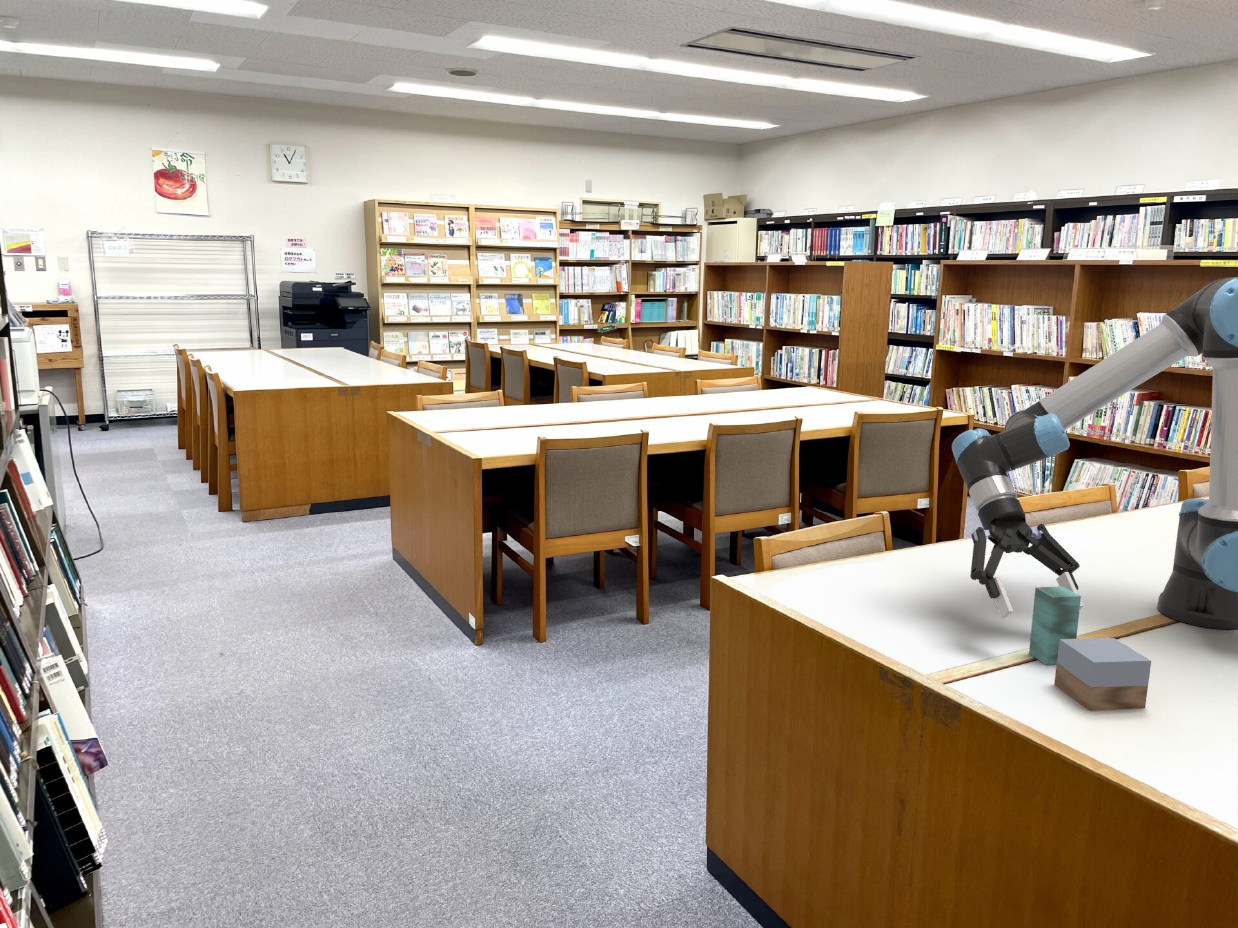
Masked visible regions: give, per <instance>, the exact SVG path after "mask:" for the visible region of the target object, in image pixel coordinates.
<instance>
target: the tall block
mask: <svg viewBox="0 0 1238 928" xmlns="http://www.w3.org/2000/svg"><path fill="white" fill-rule="evenodd" d="M1078 594H1079V593H1078ZM1078 594H1076V593H1074V592H1072V591H1070V590H1068V589H1067V588H1065V587H1063V586H1061V587H1060V586H1042V587H1041V586H1040V587H1035V588H1034V596H1033V597H1034V599H1033V609H1032V618H1031V619H1032V620H1031V631H1030V638H1029V639H1030V640H1029V649H1028V654H1029V655H1031V656H1032V657H1033V658H1035V659H1037V660H1038V661H1040V662H1041V663H1042V664H1043V665H1046V666H1053V665H1055V666H1056V664H1057V659H1058V649H1059V640H1060V639H1078V638H1077V637H1078V636H1077V635H1078V627H1079V618H1080V609H1081V608H1080V601H1082V599H1081V598H1082V596H1081V595H1080V594H1079V595H1078Z"/></svg>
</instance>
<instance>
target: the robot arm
mask: <svg viewBox="0 0 1238 928" xmlns="http://www.w3.org/2000/svg"><path fill="white" fill-rule="evenodd" d="M1160 321H1161V322H1160V323H1159V324H1158V325H1156V326H1155V327H1153V328H1152V329H1150V330H1148V331H1147V332H1145V333H1144V334H1142V335H1141V336H1139V337H1137V338H1136V339H1134V340H1133V341H1131V342H1130V343H1128V344H1126V345H1125V346H1123V347H1122V348H1120V349H1119V350H1117V351H1115V352H1113V353H1112V354H1110V355H1109V356H1107V357H1106V358H1103V360H1101V361H1100V362H1098V363H1096V364H1094V365H1092V367H1089V368H1088V369H1086V370H1085V371H1083V372H1082V373H1080V374H1079V375H1077V376H1076V377H1074V378H1073V379H1071V380H1069V381H1068V382H1066V383H1065V384H1063V385H1062V386H1060V387H1059V388H1057V389H1055V390H1053V391H1052V392H1051V393H1049V394H1047V395H1045V396H1044V397H1043V398H1041V399H1040V400H1038V401H1037V402H1035V403H1033V404H1031V405H1030V406H1028V407H1027V408H1025V409H1022V410H1019V411H1015V412H1014V413H1012V414H1011V415H1010V416H1009V417H1008V418H1007V420H1006V422H1005V424H1004V431H1001V432H998V433H996V434H992V435H991V433H989V431H988V430H986V429H983V428H975V429H969V430H966V431H963V432H962V433H960V434H959V435H958V436H957V437H955V438H954V440H953V442H952V443H951V451H952V453H953V457H954V459H955V463H956V467H958V470H959V473H960V475H961V477H962V479H963V482H964V484H965V487H966V489H967V490H968V494H969V496H970V498H971V499H970V500H971V501H972V503H973V506H974V509H975V510H976V511H977V516H978V518H979V521H980V523H981V525H982V526H979V527H977V528H976V529H974V531H973V532H972V533H971V539H972V543H973V549H972V556H971V559H972V560H971V566H970V579H971V580H972V581H976V580H978V583H979V584H980V585H983V586H984V587H985V589H986V591H987V594H988V596H989V598H990V599H993V600H994V602H995V604H996V607H997V610H998V612H999V615H1000V617H1001V618H1002V619H1005V618H1007V617H1008V616H1009V615H1011V614H1012V613H1014V609H1013V606H1012V604H1011V601H1010V598H1009V597H1008V593H1007V591H1006V589H1005V587H1004V584H1003V582H1002V579H1001V577H1000V576H995V574H996V572H997V569H998V567H999V564H1000V562H1001V560H1002V558H1003V555H1004V553H1005V554H1011V553H1016V554H1017V553H1020V554H1021V553H1022V552H1023V553H1024V554H1025V555H1028V556H1031V557H1032V558H1034V559H1036V561H1038V562H1040V564H1042V565H1044V566H1045V567H1046V568H1047V569H1049V570H1050V571H1051V572H1053V573H1054V574H1055V575H1056V576H1058V577H1056V581H1057V584H1058V587H1061V586H1063V587H1065V588H1067V589H1068V590H1070V591H1072V592H1074V593H1076V594H1078V595H1080V594H1079V592H1078V590H1079V586H1078V583H1077V582H1076V579H1075V577H1074V575H1073V573H1074V572H1075V571H1076V570H1078V569H1079V568H1080V564H1079V562H1078V561H1077V560H1076V559H1075V557H1073V556H1072V555H1071V554H1070V553H1069V552H1068V551H1067V550H1066V549H1065V548H1064V547H1063V546H1062V545H1061V544H1060V543H1059V542H1058V541H1057V540H1056V539H1055V538H1054V537H1053V536H1052V535H1051V534H1050V533H1049V531H1048V529H1047V527H1046V525H1045V524H1043V523H1039V524H1038V525H1037V526H1034V527H1030V526H1029V525H1028V523H1027V520H1026V519H1027V518H1026V513H1025V510H1024V508H1023V506H1022V504H1021V502H1020V500H1019V499H1018V494H1017V492H1016V490H1015V488H1014V486H1013V484H1012V482H1011V479H1010V477H1009V475H1008V473H1010V472H1013V471H1016V470H1017V469H1021V468H1023V467H1026V466H1028V465H1031V464H1034V463H1037V462H1040V461H1042V460H1043V461H1044V460H1045V459H1048V458H1054V457H1055V456H1056V455H1058V454H1060V453H1063V452H1066V451H1067V450H1069V448H1070V441H1069V438H1068V435H1067V433H1066V430H1068V429H1069V428H1071V427H1072V426H1074V425H1076V424H1077V423H1079V422H1081V420H1084V419H1086V418H1087V417H1089V416H1090V415H1092V414H1094V413H1096V411H1099V410H1100V409H1102V408H1103V407H1105V406H1107V405H1108V404H1110V403H1111V402H1113V401H1115V400H1117V399H1118V398H1120V397H1121V396H1124V395H1125V394H1126V393H1128V392H1130V391H1132V390H1133V389H1135V388H1136V387H1138V386H1139V385H1142V384H1144V383H1145V382H1146V381H1148V380H1150V379H1151V378H1153V377H1154V376H1156V375H1158V374H1159V373H1161V372H1163V371H1164V370H1166V369H1168V368H1169V367H1171V366H1173V365H1174V364H1176V363H1178V362H1180V361H1181V360H1182V359H1184V358H1186V357H1193V358H1194V357H1195V358H1196V357H1198V356H1200V355H1201V354H1202V359H1203V360H1204V361H1205V362H1206V363H1208V364H1209V365H1210V366H1211V367H1212V387H1211V389H1212V390H1211V391H1212V393H1211V418H1210V421H1211V423H1210V425H1211V426H1210V447H1209V448H1210V455H1209V456H1210V457H1209V484H1208V490H1209V491H1208V498H1187V499H1185V500H1183V501H1182V503H1181V507H1180V511H1179V512H1178V517H1179V519H1178V526H1177V527H1178V528H1177V533H1176V542H1175V548H1174V549H1175V550H1174V557H1173V564H1172V565H1173V566H1172V571H1171V574H1170V576H1169V578H1168V580H1167V581H1166V584H1165V586H1164V588H1163V591H1162V592H1161V593H1160V594H1159V595H1158V600H1157V607H1156V608H1157V610H1158V611H1159V612H1160V613H1161V614H1162V615H1164V616H1166V617H1168V618H1171V619H1173V620H1175V621H1178V622H1182V623H1185V624H1189V625H1194V626H1198V627H1204V628H1209V629H1221V630H1237V629H1238V276H1228V277H1222V278H1220V279H1219V278H1218V279H1216V280H1214V281H1212V282H1210V283H1209V284H1206V285H1205V286H1204V287H1201V289H1199V290H1198V291H1197V292H1195V293H1194V294H1192V295H1191V296H1189V297H1188V298H1187V299H1185V300H1184V301H1182V302H1181V303H1179V305H1177V306H1176V307H1174V308H1173V309H1171V310H1169V311H1167V313H1165V314H1163V315H1162V318H1161V320H1160ZM987 540H989V542H991V543H992V544H993V547H992V550H991V552H990V555H989V558H988V561H987V563H986V565H985V560H986V553H987V552H986V551H987V550H986V549H987ZM994 576H995V577H994ZM1083 607H1084V603H1083V600H1081V601H1080V609H1082V608H1083Z"/></svg>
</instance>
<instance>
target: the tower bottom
mask: <svg viewBox="0 0 1238 928" xmlns="http://www.w3.org/2000/svg"><path fill="white" fill-rule="evenodd" d="M1053 685H1054V686H1056V688H1058V689H1060V691H1062V692H1063V693H1065V694H1066V695H1067V696H1069V697H1071V699H1073V700H1074V701H1076V702H1077V703H1078V704H1079V705H1081V706H1082V707H1084V708H1086V710H1088V711H1089V712H1091V711H1092V712H1093V711H1111V710H1112V711H1114V710H1128V709H1129V710H1130V709H1146V704H1147V703H1146V702H1147V697H1148V689H1149V685H1148V686H1123V687H1090V686H1088V685H1087V684H1086V683H1084V682H1083V681H1081V680H1080V679H1079V678H1077V677H1076V676H1074V675H1073V674H1072V673H1070V672H1069V671H1068V670H1066V669H1065V668H1063V667H1062V666H1061V665H1059V664H1058V663H1057V664H1056V665H1055V675H1054V683H1053Z"/></svg>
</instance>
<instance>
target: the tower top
mask: <svg viewBox="0 0 1238 928" xmlns="http://www.w3.org/2000/svg"><path fill="white" fill-rule="evenodd" d="M1057 663H1058V664H1059V665H1061V666H1062V667H1063V668H1065V669H1066V670H1068V671H1069V672H1070V673H1072V674H1073V675H1074V676H1076V677H1077V678H1079V679H1080V680H1081V681H1083V682H1084V683H1086V684H1087V685H1088V686H1090V687H1123V686H1148V687H1149V682H1150V673H1151V666H1152V665H1151V664H1152V660H1151V659H1149V658H1148V657H1146V656H1145V655H1142V654H1141V653H1139V652H1137V650H1134V649H1132V648H1131V647H1129V646H1127V645H1126V644H1125V643H1123V642H1121V641H1120V640H1118V639H1116V638H1115V637H1098V638H1094V637H1093V638H1092V637H1091V638H1090V637H1089V638H1076V639H1060V640H1059V649H1058V659H1057Z"/></svg>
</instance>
